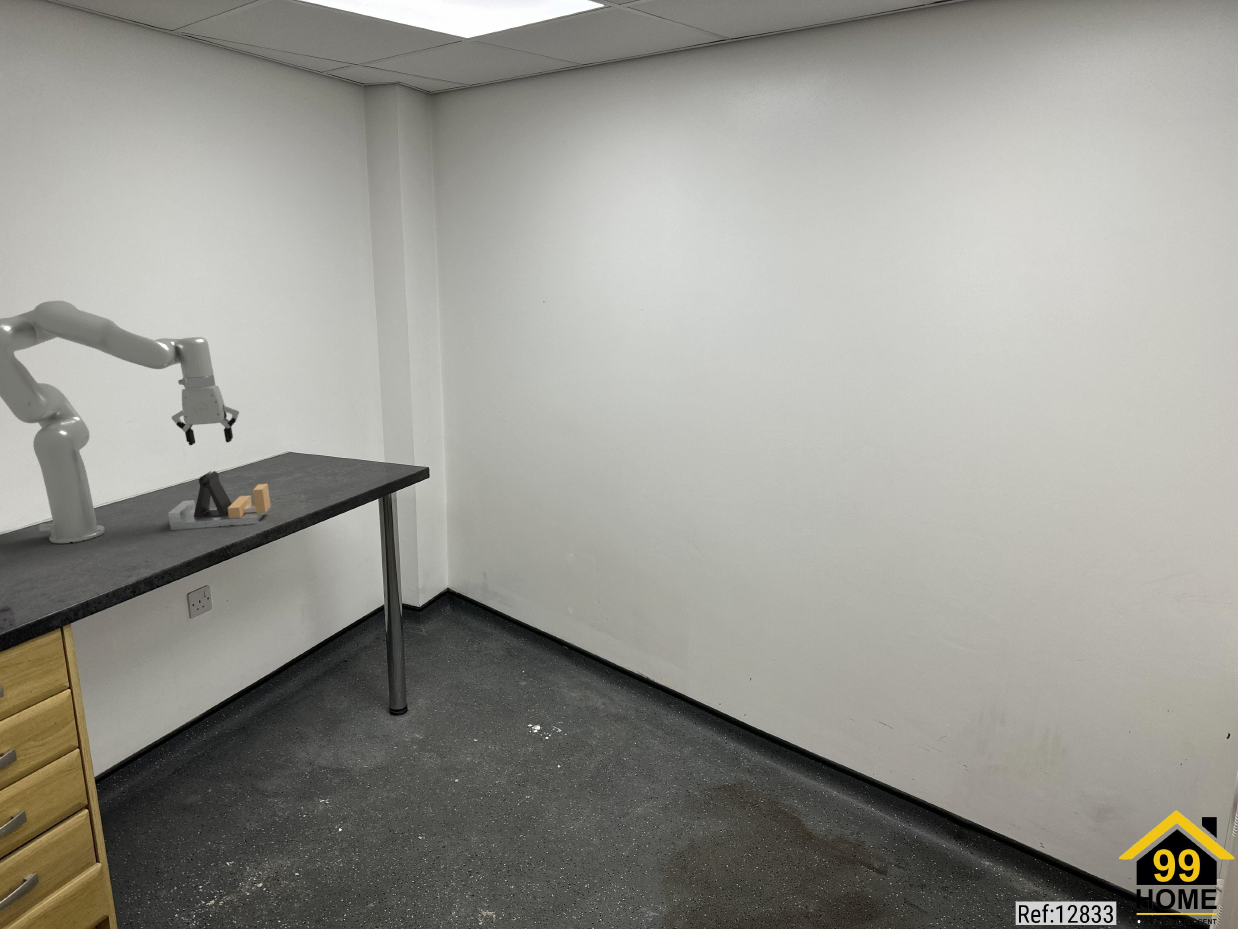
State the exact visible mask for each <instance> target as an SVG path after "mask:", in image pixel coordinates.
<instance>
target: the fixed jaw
mask: <svg viewBox="0 0 1238 929" xmlns="http://www.w3.org/2000/svg"><path fill="white" fill-rule="evenodd" d="M195 508H196V502H195V499H194V500H193V499H192V500H183V501H181V502H180V503H179V504H177V505H176V506H175V507H174V508H173V509H172V510H170V511H169V512H168V513H167V514H168V515H167V516H168V521H169V524H170V523H182V522H183V521H184V520H185V519H186V518H187V517H188V516H190V515H191V514H192V513H193V512H194V511H195Z"/></svg>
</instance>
